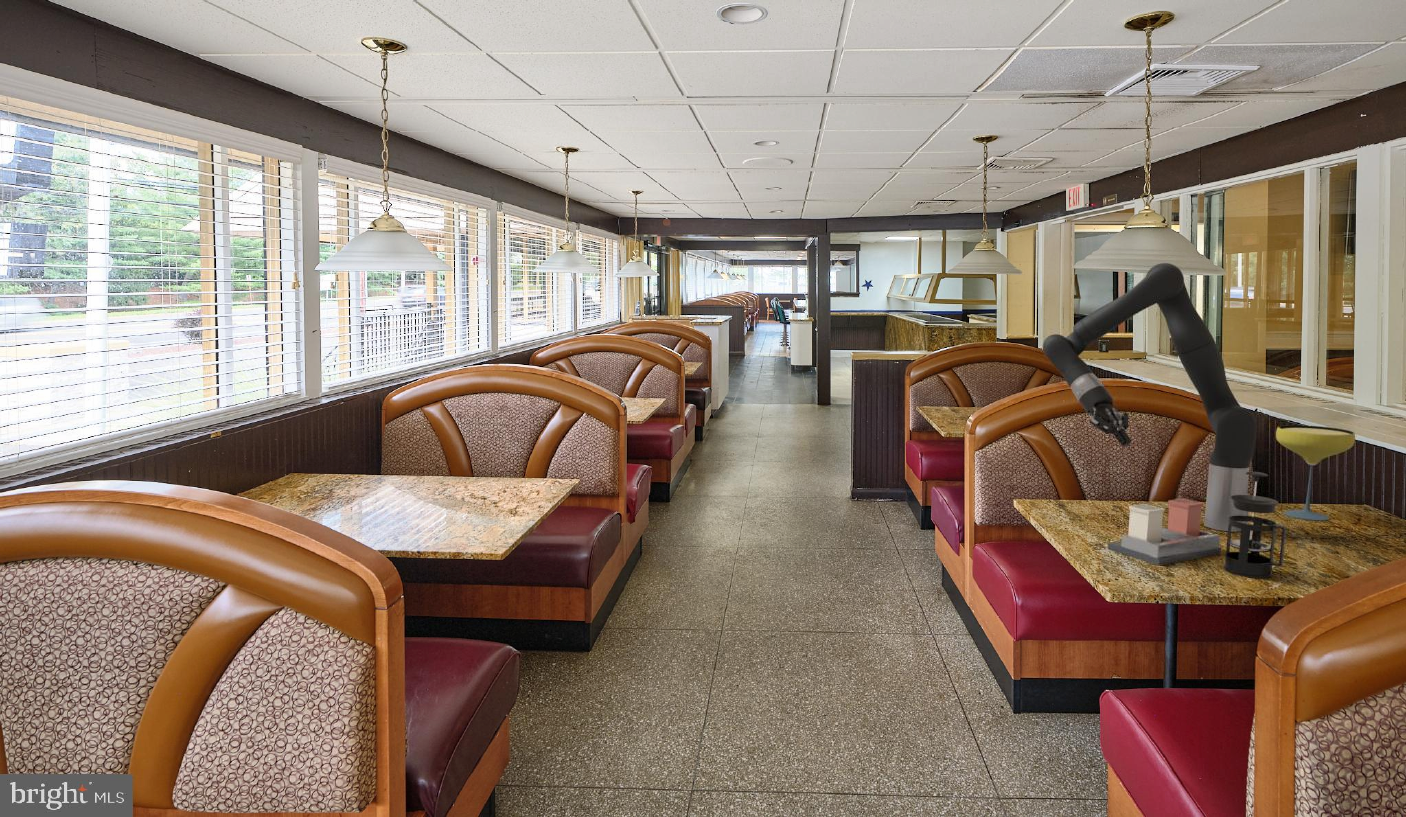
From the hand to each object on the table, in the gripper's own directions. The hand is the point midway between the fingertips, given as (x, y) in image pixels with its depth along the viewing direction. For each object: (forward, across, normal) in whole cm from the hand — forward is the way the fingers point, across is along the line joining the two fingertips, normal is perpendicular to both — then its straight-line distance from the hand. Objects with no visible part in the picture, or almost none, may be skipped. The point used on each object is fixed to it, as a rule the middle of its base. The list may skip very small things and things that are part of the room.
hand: (1127, 444), depth 223 cm
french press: (+42, -3, -9) cm, 43 cm away
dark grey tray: (+28, -7, +5) cm, 29 cm away
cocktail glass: (+25, +62, +9) cm, 67 cm away
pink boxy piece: (+28, 0, +3) cm, 28 cm away
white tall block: (+27, -14, +3) cm, 31 cm away
